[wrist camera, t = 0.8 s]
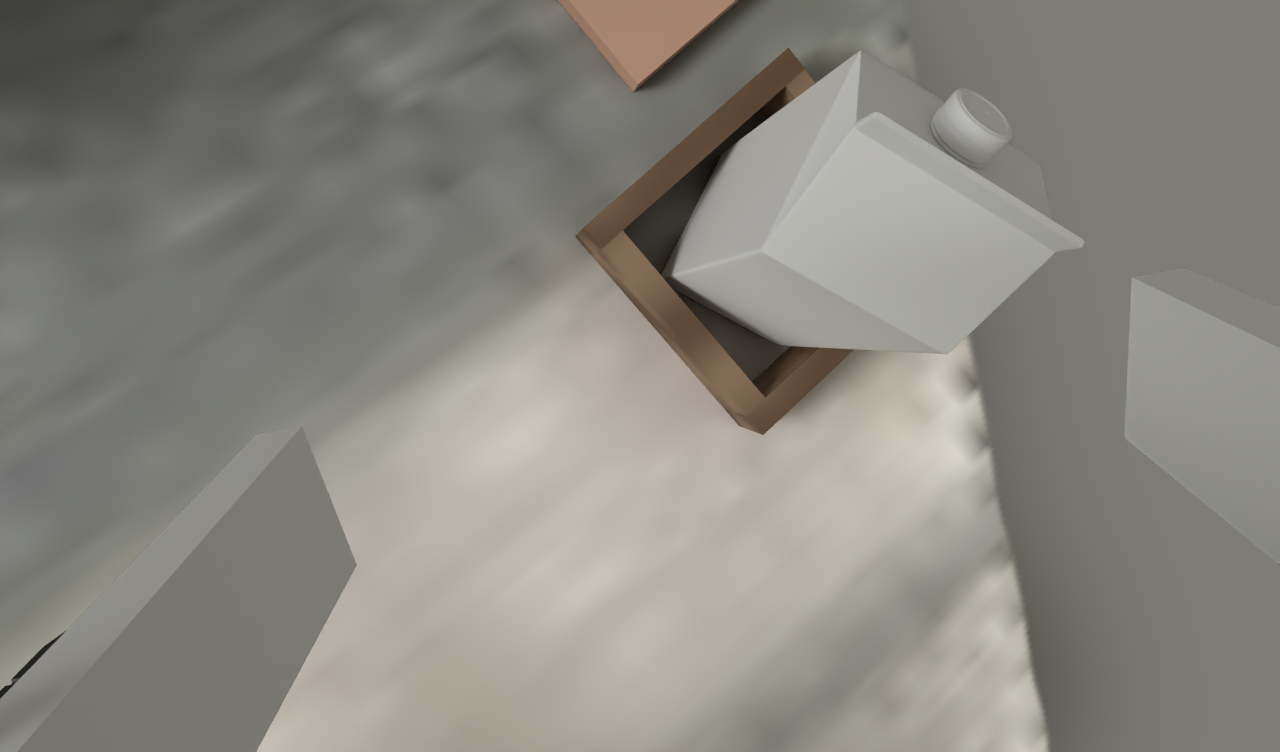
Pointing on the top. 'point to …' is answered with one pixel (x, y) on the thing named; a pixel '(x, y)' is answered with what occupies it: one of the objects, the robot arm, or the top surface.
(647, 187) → the tray
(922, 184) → the milk carton
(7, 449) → the top surface
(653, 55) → the terracotta board
